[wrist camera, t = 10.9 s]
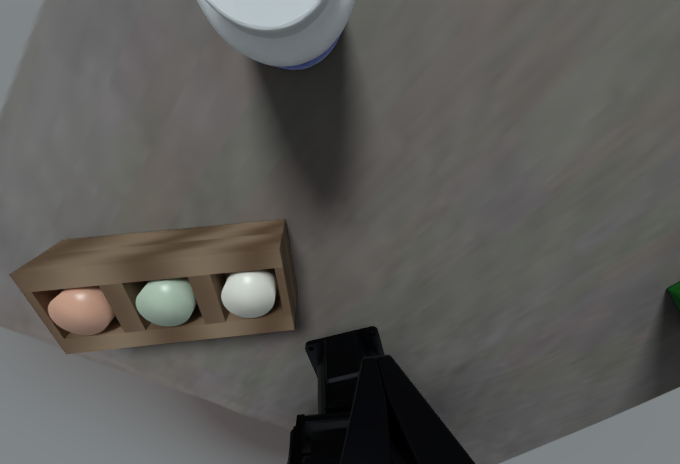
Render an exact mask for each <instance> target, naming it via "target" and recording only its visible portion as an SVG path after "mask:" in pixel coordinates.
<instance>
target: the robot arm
mask: <svg viewBox="0 0 680 464" xmlns="http://www.w3.org/2000/svg"><path fill="white" fill-rule="evenodd" d="M371 332H373V333H371ZM305 350H306V352H307V355H308V357H309V359H310V362H311V364H312V366H313V368H314V371H315V373H316V375H317V378H318V414H316V415H306V416H305V414H302V415H297V421H296V426H294V428H293V430H292V431H291V434H290V448H289V457H288V462H287V464H475V463H474V461H473V460H472V459H471V457H470V456H469V455H468V454H467V452H466V451H465V450H464V449H463V447H462V446H461V445H460V443H459V442H458V441H457V440H456V438H455V437H454V436H453V434H452V433H451V432H450V431H449V429H448V428H447V427H446V426H445V424H444V423H443V422H442V420H441V419H440V418H439V417H438V415H437V414H436V413H435V412H434V410H433V409H432V408H431V406H430V405H429V404H428V403H427V401H426V400H425V399H424V397H423V396H422V395H421V394H420V392H419V391H418V390H417V389H416V387H415V386H414V385H413V383H412V382H411V381H410V380H409V378H408V377H407V376H406V375H405V373H404V372H403V371H402V369H401V368H400V367H399V366H398V364H397V363H396V362H395V360H394V359H393V358H392V357H391V356H390V355H384V352H383V348H382V345H381V341H380V337H379V333H378V329H377V328H376V327H374V326H372V327H367V328H363V329H359V330H354V331H350V332H346V333H342V334H338V335H333V336H329V337H325V338H321V339H317V340H312V341H309V342H307V343H306V345H305Z"/></svg>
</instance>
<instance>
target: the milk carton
mask: <svg viewBox="0 0 680 464" xmlns="http://www.w3.org/2000/svg"><path fill="white" fill-rule="evenodd" d="M667 290H668V291H669V293H670V295H671V297H672V299H673V301H674V303H675V305H676V306H677V308H678V310H679V312H680V282H678V283H676V284H675V285H673V286H671V287H670V288H668V289H667Z"/></svg>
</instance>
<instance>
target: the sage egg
mask: <svg viewBox="0 0 680 464" xmlns="http://www.w3.org/2000/svg"><path fill="white" fill-rule="evenodd" d="M196 304H197V301H196V298H195V295H194V293H193V290H192V287H191V285H190V282H189V279H188V277H180V278H170V279H159V280H149V282H148V283H147V284H146V285H145V287H144V288H143V289H142V290H141V292H140V293H139V294H138V296H137V298H136V307H137V310H138V311H139V313H140V314H141V315H142V316H143V317H144V318H145V319H146V320H148V321H150V322H152V323H154V324H157V325H160V326H177V325H180V324H183V323H185V322H186V321H187V320H188V319H189V318H190V316H191V314H192V312H193V310H194V308H195V306H196Z"/></svg>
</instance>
